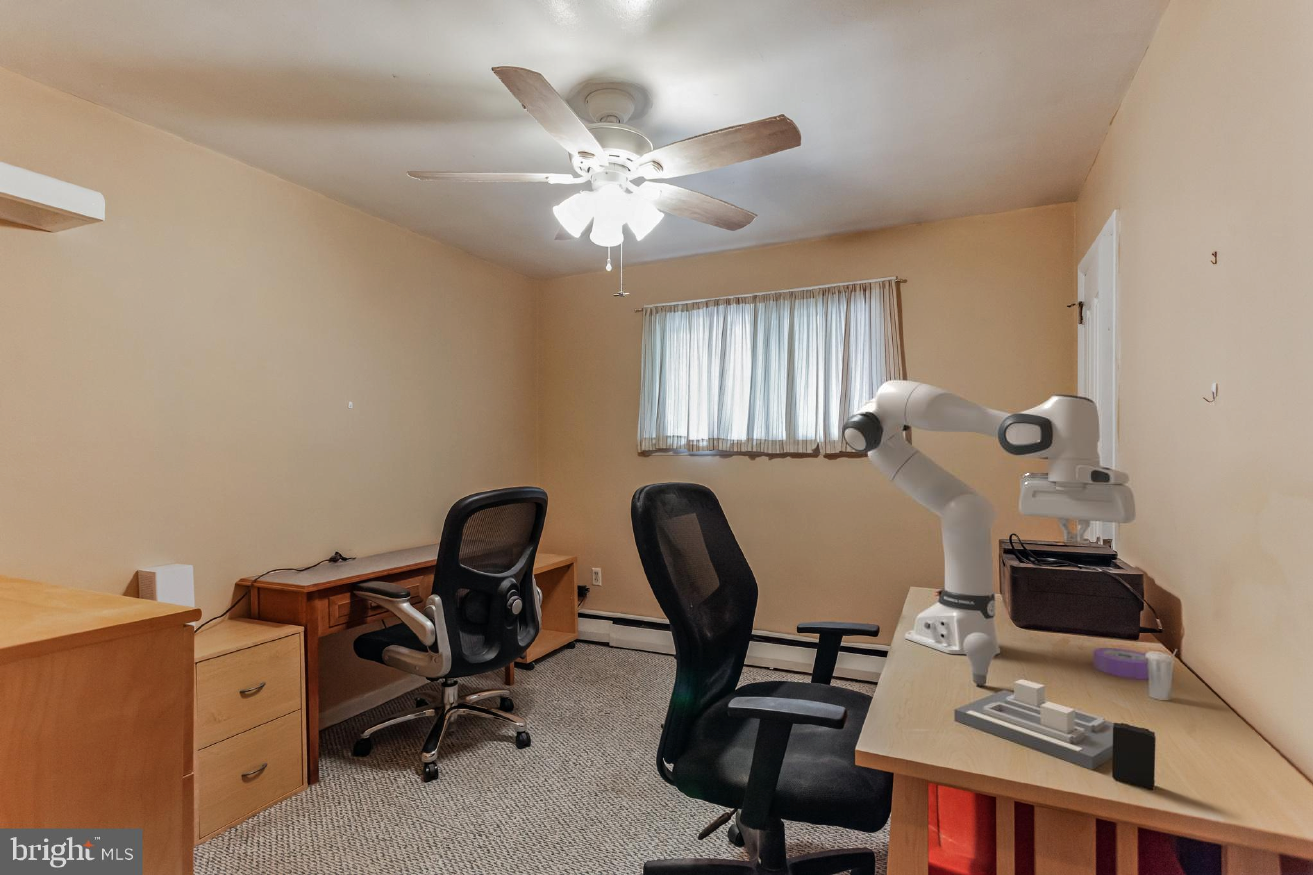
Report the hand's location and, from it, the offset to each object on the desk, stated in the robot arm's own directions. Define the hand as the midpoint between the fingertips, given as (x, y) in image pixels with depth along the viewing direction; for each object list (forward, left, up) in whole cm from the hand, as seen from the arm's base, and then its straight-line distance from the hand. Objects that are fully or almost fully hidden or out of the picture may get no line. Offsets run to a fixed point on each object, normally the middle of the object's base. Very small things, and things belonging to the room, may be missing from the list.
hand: (1073, 541), depth 129 cm
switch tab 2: (+8, -27, -29) cm, 40 cm away
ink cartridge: (+20, -31, -31) cm, 48 cm away
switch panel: (+4, -23, -31) cm, 39 cm away
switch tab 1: (0, -19, -29) cm, 35 cm away
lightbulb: (-14, -10, -31) cm, 36 cm away
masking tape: (-1, +29, -32) cm, 43 cm away
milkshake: (+10, +15, -31) cm, 36 cm away
